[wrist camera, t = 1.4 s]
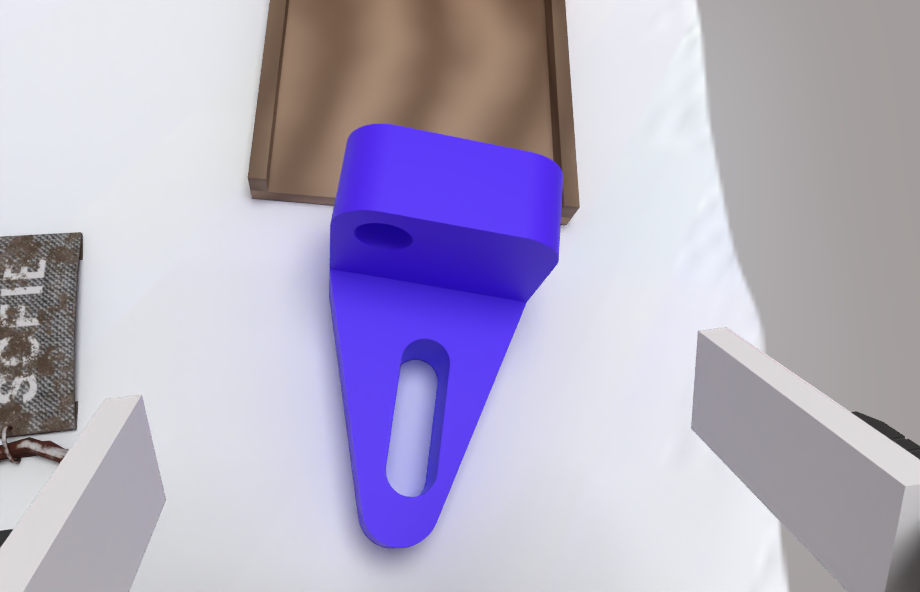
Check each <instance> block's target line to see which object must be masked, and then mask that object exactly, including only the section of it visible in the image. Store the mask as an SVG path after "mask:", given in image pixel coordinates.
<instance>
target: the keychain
mask: <svg viewBox="0 0 920 592" xmlns="http://www.w3.org/2000/svg"><path fill="white" fill-rule="evenodd" d="M79 260H83V238H82V233H81V232H79V233H61V234H42V235H24V236H5V237H0V438H2V444H3V445H0V460H2V459H9V460H10V461H11V462H13V463H19V462H20V460H21V457H27V456H36V455H39V456H42V457H45V458H48V459H51V460H54V461H57V462H59V463H60V462H61V461H62V460H63V458H64V457H65V455H66V454H67V452H68V451H69V450H68V449H64V448H62V447H60V446H59V445H57V444H55V443H53V442H51V441H40V440H37V439H34V438H30V437H29V438H25V439H21V440H18V441H14V442H11V443H7V441H6V437H13V436H22V435H31V434H40V433H49V432H58V431H67V430H76V424H77V414H78V401H77V402H75V399H74V346H75V313H76V292H77V273H78V264H79ZM14 458H17V459H14Z"/></svg>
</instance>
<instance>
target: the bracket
mask: <svg viewBox="0 0 920 592" xmlns="http://www.w3.org/2000/svg"><path fill="white" fill-rule="evenodd" d="M562 190H563V172H562V170H561V168H560V167H559V166H558V165H557V164H556V163H555V162H554V161H553V160H551V159H549V158H547V157H545V156H543V155H540V154H537V153H533V152H529V151H524V150H518V149H513V148H508V147H503V146H498V145H493V144H488V143H483V142H478V141H473V140H468V139H463V138H458V137H453V136H448V135H443V134H438V133H433V132H428V131H423V130H418V129H413V128H408V127H403V126H398V125H393V124H370V125H365V126H362V127H360V128H358V129H356V130H354V131H353V132H352V133H351V134H350V135H349V137H348V139H347V144H346V149H345V154H344V159H343V164H342V169H341V174H340V179H339V184H338V189H337V194H336V199H335V204H334V209H333V214H332V219H331V225H330V287H329V297H330V305H331V312H332V320H333V328H334V335H335V343H336V350H337V358H338V366H339V373H340V381H341V388H342V396H343V404H344V411H345V419H346V426H347V434H348V442H349V449H350V457H351V464H352V472H353V480H354V487H355V495H356V502H357V510H358V518H359V522H360V526H361V528H362V530H363V532H364V533H365V535H366V536H367V537H368V538H369V539H370V540H371V541H372V542H374V543H375V544H377V545H379V546H382V547H386V548H404V547H409V546H413V545H415V544H417V543H419V542H421V541H422V540H424V539H425V538H426V537H427V536H428V535H429V534H430V533H431V531H432V530H433V528H434V527H435V525H436V523H437V520H438V518H439V515H440V513H441V510H442V508H443V505H444V503H445V501H446V498H447V496H448V493H449V491H450V488H451V486H452V483H453V481H454V478H455V476H456V474H457V471H458V469H459V466H460V464H461V461H462V459H463V456H464V454H465V452H466V449H467V447H468V444H469V442H470V439H471V437H472V434H473V432H474V430H475V427H476V425H477V422H478V420H479V417H480V415H481V412H482V410H483V408H484V405H485V403H486V400H487V398H488V395H489V393H490V390H491V388H492V386H493V383H494V381H495V378H496V376H497V373H498V371H499V368H500V366H501V364H502V361H503V359H504V356H505V354H506V351H507V349H508V346H509V344H510V342H511V339H512V337H513V334H514V332H515V329H516V327H517V324H518V322H519V320H520V317H521V315H522V312H523V310H524V307H525V305H526V302H527V301H528V300H529V299H530V297H531V296H532V295H533V294H534V292H535V291H536V290H537V289H538V287H539V286H540V285H541V284H542V282H543V281H544V280H545V279H546V277H547V276H548V275H549V274H550V272H551V271H552V270H553V269H554V267H555V266H556V265H557V263H558V259H559V241H560V224H561V207H562ZM413 359H417V360H422V361H425V362H427V363H428V364H430V365H431V366H432V367H433V369H434V370H435V372H436V374H437V378H438V385H437V394H436V402H435V410H434V418H433V427H432V435H431V443H430V451H429V460H428V468H427V476H426V484H425V487H424V490H423V491H422V493H421V494H420V495H419V496H417V497H406V496H403V495H400V494H398V493H397V492H396V491H394V490H393V489H392V487H391V486H390V484H389V483H388V480H387V477H386V463H387V456H388V449H389V442H390V435H391V428H392V421H393V414H394V407H395V400H396V393H397V386H398V379H399V372H400V365H401V364H403V363H404V362H406V361H408V360H413Z"/></svg>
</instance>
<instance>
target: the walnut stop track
mask: <svg viewBox="0 0 920 592" xmlns="http://www.w3.org/2000/svg"><path fill="white" fill-rule="evenodd" d="M370 124H393V125H398V126H403V127H408V128H413V129H418V130H423V131H428V132H433V133H438V134H443V135H448V136H453V137H458V138H463V139H468V140H473V141H478V142H483V143H488V144H493V145H498V146H503V147H508V148H513V149H518V150H524V151H529V152H533V153H537V154H540V155H543V156H545V157H547V158H549V159H551V160H553V161H554V162H555V163H556V164H557V165H558V166H559V167H560V168H561V170H562V172H563V190H562V207H561V224H563V225H567V224H568V222H569V221H570V220H571V218H572V217H573V215H574V214H575V213H576V211H577V210H578V209H579V207H580V206H579V191H578V177H577V163H576V149H575V135H574V121H573V107H572V93H571V79H570V64H569V50H568V36H567V22H566V8H565V0H270V4H269V12H268V20H267V28H266V36H265V44H264V52H263V60H262V68H261V76H260V84H259V92H258V100H257V108H256V116H255V124H254V132H253V141H252V149H251V157H250V165H249V173H248V180H249V185H250V190H251V195H252V198H255V199H267V200H279V201H290V202H302V203H314V204H326V205H334V204H335V199H336V194H337V189H338V184H339V179H340V174H341V169H342V164H343V159H344V154H345V149H346V144H347V139H348V137H349V135H350V134H351V133H352V132H353V131H354V130H356V129H358V128H360V127H362V126H365V125H370Z"/></svg>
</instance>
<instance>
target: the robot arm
mask: <svg viewBox="0 0 920 592" xmlns="http://www.w3.org/2000/svg"><path fill="white" fill-rule="evenodd" d="M691 429H692V430H693V431H694V432H695V433H696V434H697V435H698V436H699V437H700V438H701V439H702V440H703V441H704V442H705V443H706V444H707V445H708V447H709V448H710V449H711V450H712V451H713V452H714V453H715V454H716V455H717V456H718V457H719V458H720V459H721V460H722V461H723V462H724V463H725V464H726V465H727V466H728V467H729V468H730V470H731V471H732V472H733V473H734V474H735V475H736V476H737V477H738V478H739V479H740V480H741V481H742V482H743V483H744V484H745V485H746V486H747V487H748V488H749V489H750V490H751V491H752V493H753V494H754V495H755V496H756V497H757V498H758V499H759V500H760V501H761V502H762V503H763V504H764V505H765V506H766V507H767V508H768V509H769V510H770V511H771V512H772V513H773V514H774V515H775V517H776V518H777V519H778V520H779V521H780V522H781V523H782V524H783V525H784V526H785V527H786V528H787V529H788V530H789V531H790V532H791V533H792V534H793V535H794V536H795V537H796V538H797V540H798V541H799V542H800V543H801V544H802V545H803V546H804V547H805V548H806V549H807V550H808V551H809V552H810V553H811V554H812V555H813V556H814V557H815V558H816V559H817V560H818V561H819V562H820V564H821V565H822V566H823V567H824V568H825V569H826V570H827V571H828V572H829V573H830V574H831V575H832V576H833V577H834V578H835V579H836V580H837V581H838V582H839V583H840V584H841V585H842V587H843V588H844V589H845V590H846V591H847V592H920V446H919V445H917V444H915V443H914V442H912V441H911V440H909V439H905V436H903V435H902V434H900V433H899V432H897V431H896V430H894V429H893V428H891V427H889V426H888V425H887V424H885V423H884V422H881V421H879V420H876V419H874V418H871V417H869V416H866V415H864V414H861V413H859V412H849V411H848V410H847V409H845V408H843V407H842V406H841V405H839V404H838V403H836V402H835V401H833V400H832V399H831V398H829V397H828V396H826V395H825V394H823V393H822V392H820V391H819V390H817V389H816V388H815V387H813V386H812V385H810V384H809V383H807V382H806V381H804V380H803V379H801V378H800V377H799V376H797V375H796V374H794V373H793V372H791V371H790V370H788V369H787V368H785V367H784V366H782V365H781V364H780V363H778V362H777V361H775V360H774V359H772V358H771V357H769V356H768V355H766V354H765V353H764V352H762V351H761V350H759V349H758V348H756V347H755V346H753V345H752V344H750V343H749V342H747V341H746V340H745V339H743V338H742V337H740V336H739V335H737V334H736V333H734V332H733V331H731V330H730V329H729V328H727V327H726V328H717V329H708V330H700V331H698V339H697V353H696V367H695V381H694V395H693V409H692V423H691ZM165 501H166V498H165V494H164V489H163V485H162V481H161V476H160V472H159V468H158V463H157V459H156V455H155V450H154V446H153V441H152V437H151V433H150V428H149V424H148V420H147V415H146V411H145V407H144V402H143V398H142V395H135V396H126V397H117V398H109V399H105V400H104V401H103V403H102V404H101V406H100V407H99V408H98V410H97V411H96V413H95V414H94V416H93V417H92V418H91V420H90V421H89V423H88V424H87V425H86V427H85V428H84V430H83V431H82V433H81V434H80V435H79V437H78V438H77V440H76V441H75V443H74V444H73V445H72V447H71V448H70V450H69V451H68V452H67V454H66V455H65V457H64V458H63V460H62V461H61V462H60V464H59V465H58V467H57V468H56V470H55V471H54V472H53V474H52V475H51V477H50V478H49V479H48V481H47V482H46V484H45V485H44V487H43V488H42V489H41V491H40V492H39V494H38V495H37V497H36V498H35V499H34V501H33V502H32V504H31V505H30V506H29V508H28V509H27V511H26V512H25V514H24V515H23V516H22V518H21V519H20V521H19V522H18V524H17V525H16V526H15V528H14V529H10V530H3V531H0V592H129V590H130V588H131V585H132V583H133V580H134V578H135V575H136V573H137V570H138V568H139V565H140V563H141V560H142V558H143V555H144V553H145V551H146V548H147V546H148V543H149V541H150V538H151V536H152V533H153V531H154V528H155V526H156V523H157V521H158V518H159V516H160V513H161V511H162V508H163V506H164V503H165Z"/></svg>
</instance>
